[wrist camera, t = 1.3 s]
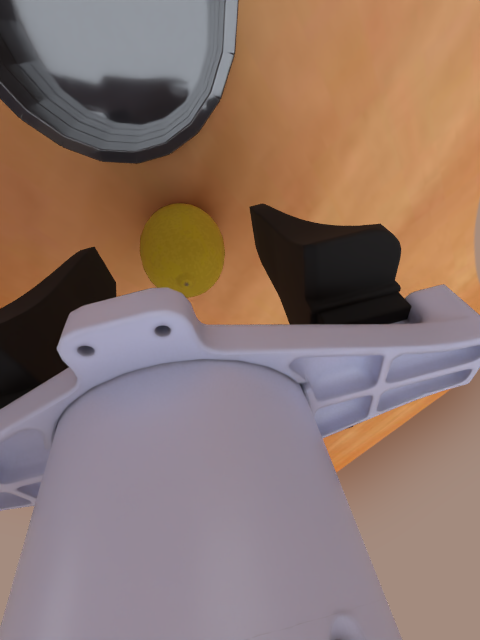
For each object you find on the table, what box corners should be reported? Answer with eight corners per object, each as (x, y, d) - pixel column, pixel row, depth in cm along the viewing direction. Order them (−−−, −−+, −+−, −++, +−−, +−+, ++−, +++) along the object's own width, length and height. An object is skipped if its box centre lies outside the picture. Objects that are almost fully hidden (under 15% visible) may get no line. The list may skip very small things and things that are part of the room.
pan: (151, 183, 20) (149, 206, 17) (-70, 22, 14) (-132, 17, 11) (268, 2, 15) (292, -8, 13) (10, -380, 9) (-63, -579, 6)
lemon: (228, 236, 24) (248, 296, 18) (170, 265, 25) (171, 332, 19) (194, 171, 20) (205, 222, 15) (126, 209, 21) (112, 271, 15)
